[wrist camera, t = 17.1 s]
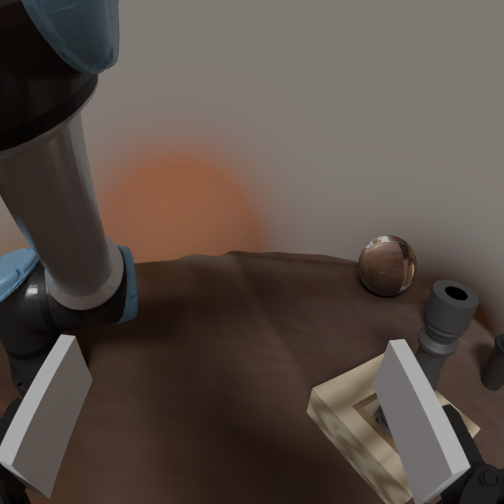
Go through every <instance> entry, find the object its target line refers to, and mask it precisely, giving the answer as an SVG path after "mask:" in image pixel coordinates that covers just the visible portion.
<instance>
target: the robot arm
mask: <svg viewBox="0 0 504 504" xmlns="http://www.w3.org/2000/svg"><path fill="white" fill-rule="evenodd" d="M118 18H119V15H118V0H0V196H1V198H2V199H3V201H4V203H5V205H6V206H7V208H8V210H9V212H10V213H11V215H12V217H13V219H14V220H15V222H16V224H17V225H18V227H19V229H20V230H21V232H22V233H23V235H24V237H25V238H26V240H27V241H28V243H29V245H30V246H31V248H22V249H19V250H15V251H12V252H10V253H8V254H6V255H4V256H2V257H1V258H0V340H1V342H2V344H3V346H4V348H5V350H6V352H7V354H8V360H9V365H10V371H11V376H12V380H13V382H14V384H15V386H16V388H17V389H18V391H19V392H20V394H21V395H22V396H23V397H24V399H19V398H16V399H15V400H14V401H13V402H12V403H11V404H10V405H9V406H8V407H7V409H6V411H5V413H4V415H3V416H4V417H3V418H2V419H1V421H0V504H31V503H30V501H29V498H28V496H27V494H26V493H25V489H26V487H27V488H28V489H29V490H30V491H32V492H33V493H35V494H37V495H40V496H42V497H45V498H47V499H50V496H51V492H52V489H53V486H54V483H55V479H56V476H57V473H58V470H59V467H60V464H61V461H62V458H63V456H64V453H65V450H66V447H67V444H68V442H69V439H70V436H71V433H72V431H73V428H74V425H75V423H76V420H77V418H78V415H79V413H80V410H81V408H82V405H83V403H84V400H85V398H86V395H87V393H88V390H89V388H90V386H91V383H92V381H93V379H92V377H91V375H90V372H89V370H88V368H87V365H86V363H85V360H84V358H83V355H82V353H81V350H80V347H79V345H78V342H77V339H76V336H69V335H65V334H64V333H63V332H62V331H67V330H75V329H82V328H89V327H96V326H103V325H110V324H115V325H116V324H121V323H122V322H126V321H130V320H133V319H134V318H135V317H136V315H137V311H138V299H137V284H136V275H135V268H134V262H133V257H132V253H131V250H130V249H129V248H128V247H126V246H119V245H118V246H116V244H115V243H114V242H113V241H112V240H111V239H110V238H108V237H107V236H105V234H104V230H103V227H102V223H101V219H100V214H99V210H98V206H97V201H96V197H95V193H94V188H93V183H92V178H91V174H90V169H89V163H88V158H87V152H86V146H85V140H84V133H83V127H82V120H81V112H80V111H81V110H82V109H83V108H84V107H85V106H86V105H87V104H88V102H89V101H90V99H91V98H92V97H93V95H94V93H95V91H96V88H97V84H98V74H100V73H101V72H103V71H104V70H106V69H109V68H110V67H112V66H114V64H115V63H116V62H117V58H118V54H119V19H118ZM373 387H374V389H375V392H376V394H377V397H378V399H379V402H380V405H381V407H382V410H383V413H384V415H385V418H386V420H387V423H388V426H389V429H390V431H391V434H392V437H393V440H394V442H395V445H396V448H397V451H398V454H399V457H400V459H401V462H402V465H403V468H404V471H405V474H406V477H407V480H408V483H409V486H410V489H411V492H412V495H413V499H414V502H415V504H423V503H426V502H428V501H431V500H433V499H435V498H436V497H437V496H438V495H439V494H441V497H442V499H441V500H440V501H439V502H437V503H436V504H504V469H497V468H496V467H494V466H492V465H489V464H486V463H485V462H484V461H483V459H482V457H481V455H480V453H479V451H478V449H477V446H476V444H475V442H474V440H473V438H472V436H471V434H470V432H468V428H467V427H466V425H465V424H464V421H463V419H462V417H461V415H460V413H459V412H458V411H457V410H456V409H455V408H454V407H453V406H452V405H451V404H447V405H443V406H441V404H440V402H439V400H438V399H437V397H436V395H435V393H434V391H433V389H432V387H431V385H430V383H429V382H428V380H427V378H426V376H425V374H424V372H423V371H422V369H421V367H420V365H419V364H418V362H417V360H416V358H415V356H414V355H413V353H412V351H411V349H410V348H409V346H408V344H407V343H406V341H405V339H401V340H391V341H389V343H388V345H387V348H386V351H385V354H384V356H383V359H382V362H381V364H380V367H379V369H378V372H377V374H376V377H375V379H374V382H373Z"/></svg>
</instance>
